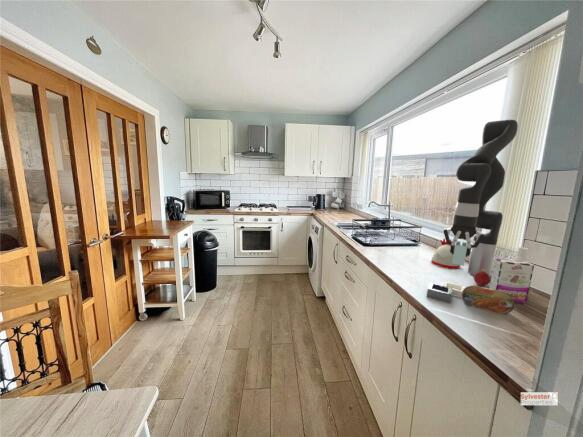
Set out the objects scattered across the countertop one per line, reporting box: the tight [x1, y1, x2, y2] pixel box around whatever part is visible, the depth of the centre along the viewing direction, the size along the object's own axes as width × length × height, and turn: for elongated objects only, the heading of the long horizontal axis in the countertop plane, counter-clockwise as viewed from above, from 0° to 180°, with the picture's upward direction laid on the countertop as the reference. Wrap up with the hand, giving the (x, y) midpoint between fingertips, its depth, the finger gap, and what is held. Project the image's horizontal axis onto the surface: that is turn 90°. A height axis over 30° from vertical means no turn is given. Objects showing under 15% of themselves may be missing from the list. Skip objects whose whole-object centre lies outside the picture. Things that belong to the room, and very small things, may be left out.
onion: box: [473, 270, 491, 287], centre depth 107 cm, size 6×6×8 cm
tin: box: [461, 285, 515, 315], centre depth 87 cm, size 15×3×8 cm, turn 62°
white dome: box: [431, 237, 461, 270], centre depth 134 cm, size 14×14×15 cm
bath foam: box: [511, 246, 531, 263], centre depth 103 cm, size 7×7×20 cm
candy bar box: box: [489, 257, 535, 304], centre depth 96 cm, size 11×5×16 cm, turn 77°
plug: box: [452, 240, 467, 267], centre depth 97 cm, size 4×4×9 cm
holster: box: [443, 280, 465, 299], centre depth 100 cm, size 7×7×3 cm
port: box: [426, 281, 453, 304], centre depth 95 cm, size 8×8×4 cm
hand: (459, 255), depth 97 cm, fingers closed on plug, 4 cm apart
